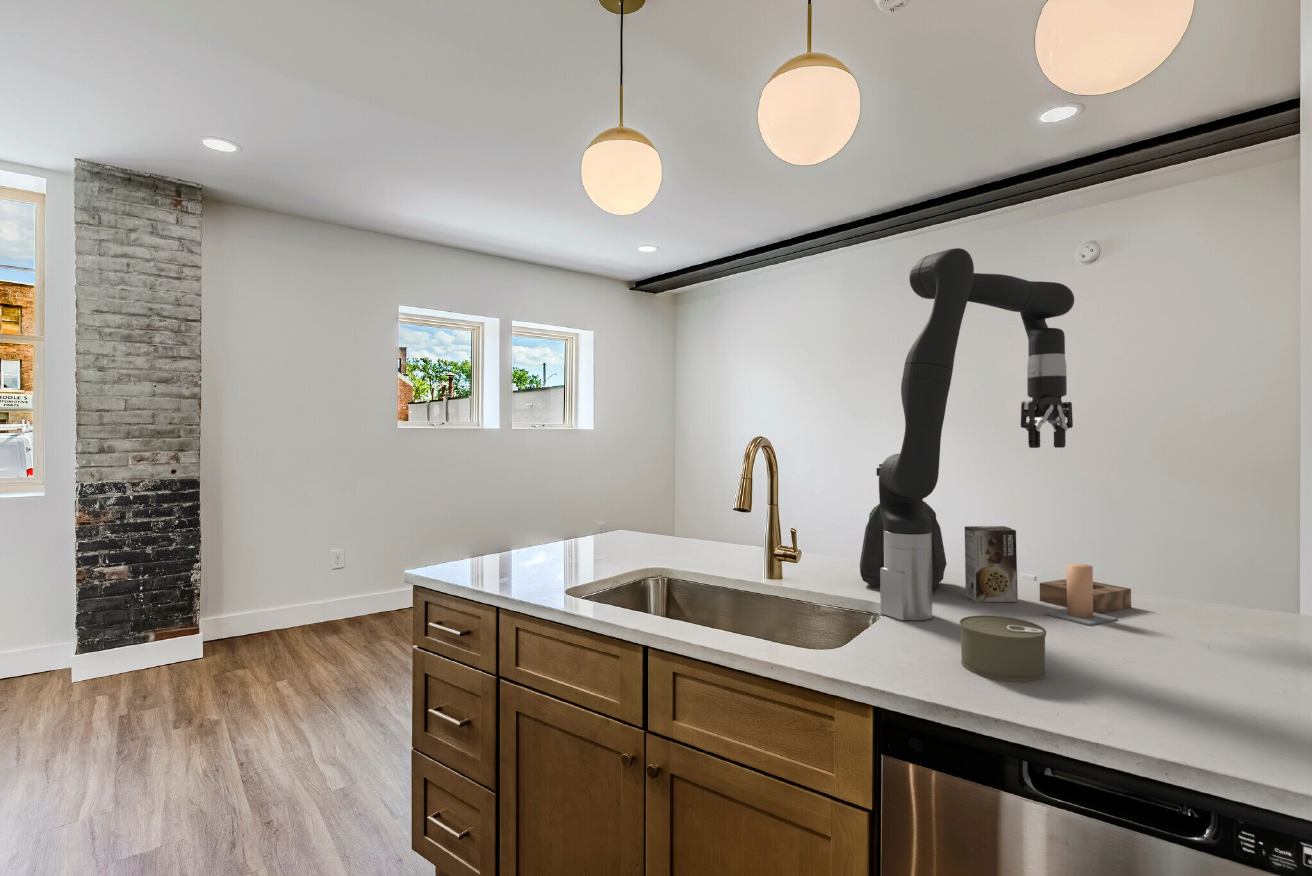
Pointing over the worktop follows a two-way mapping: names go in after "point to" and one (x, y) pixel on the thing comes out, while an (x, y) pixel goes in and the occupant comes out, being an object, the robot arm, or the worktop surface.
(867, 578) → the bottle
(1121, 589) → the bore block
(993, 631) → the can
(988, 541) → the coffee box
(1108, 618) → the rubber mat
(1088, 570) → the peach orange cylinder
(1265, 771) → the worktop surface
